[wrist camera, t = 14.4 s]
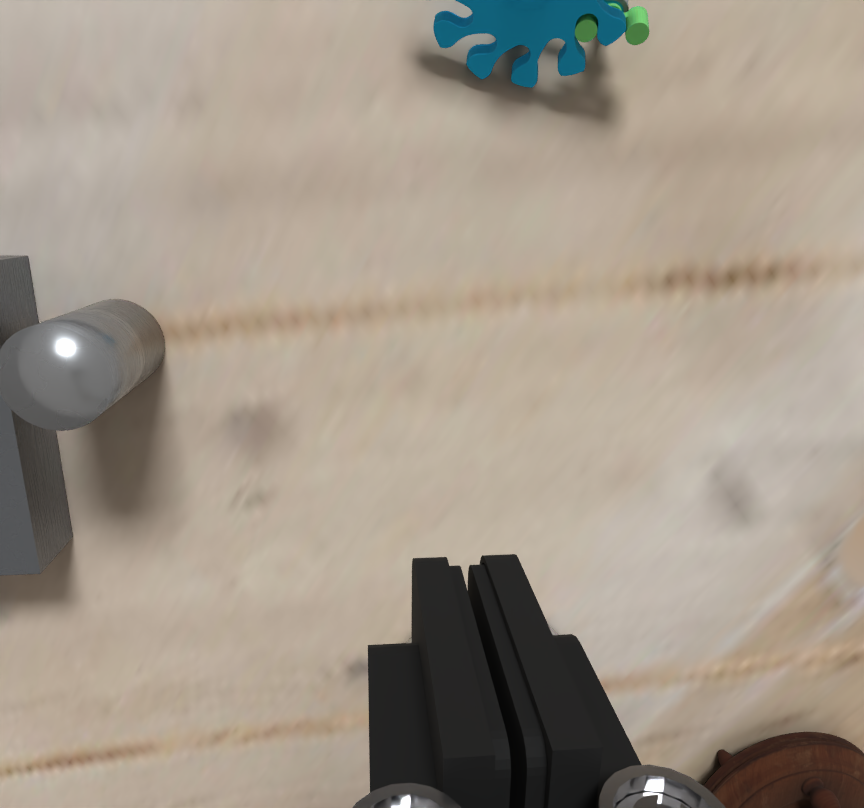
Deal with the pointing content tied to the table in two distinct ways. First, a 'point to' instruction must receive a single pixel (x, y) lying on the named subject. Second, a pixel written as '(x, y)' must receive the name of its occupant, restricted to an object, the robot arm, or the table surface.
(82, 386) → the metal cylinder plug
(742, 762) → the brown spool rack
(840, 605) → the table surface
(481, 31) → the blue spiky piece
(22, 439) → the jig
